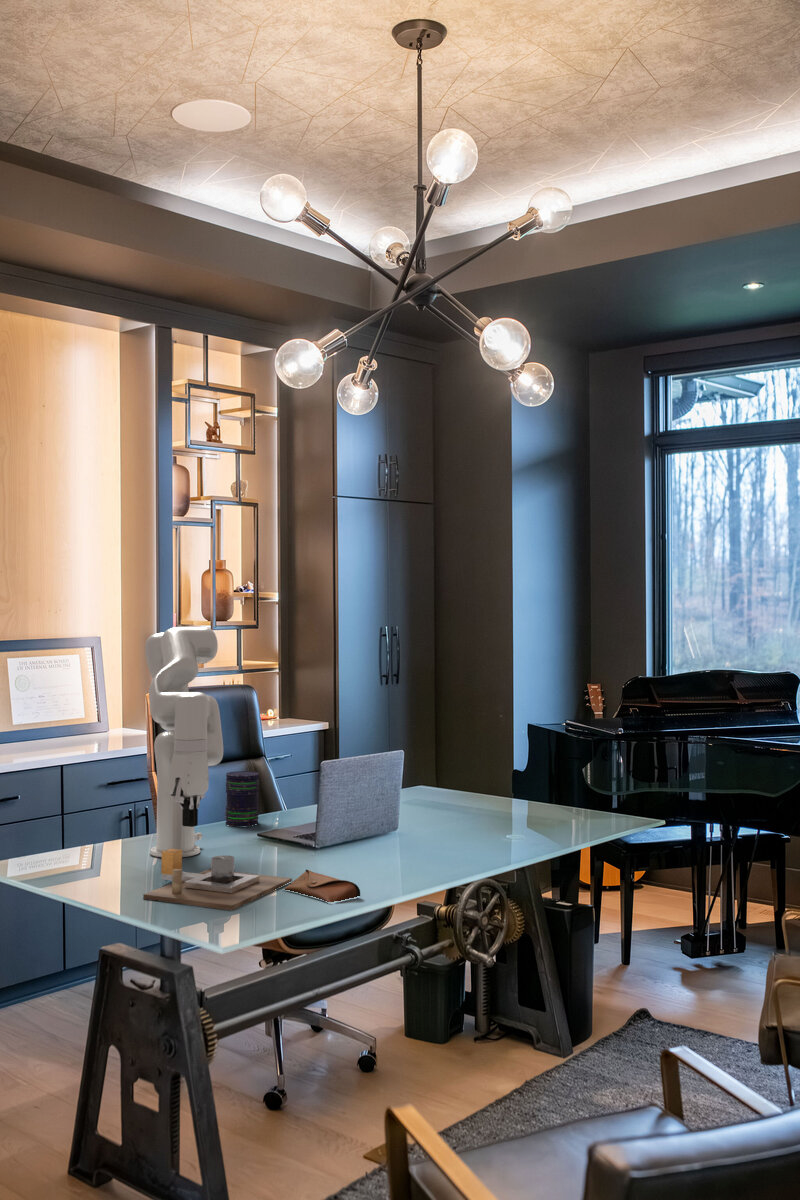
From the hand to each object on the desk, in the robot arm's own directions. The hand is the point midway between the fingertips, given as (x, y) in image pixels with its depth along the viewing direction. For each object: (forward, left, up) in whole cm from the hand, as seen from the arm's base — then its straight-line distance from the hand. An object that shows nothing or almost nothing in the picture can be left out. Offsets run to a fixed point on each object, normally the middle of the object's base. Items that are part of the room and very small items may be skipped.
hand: (189, 825), depth 247 cm
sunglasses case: (+1, +34, -13) cm, 37 cm away
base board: (+7, +13, -12) cm, 19 cm away
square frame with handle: (+6, +9, -11) cm, 15 cm away
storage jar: (-63, -23, -12) cm, 68 cm away
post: (+6, +13, -11) cm, 18 cm away
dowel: (+17, +8, -11) cm, 22 cm away
